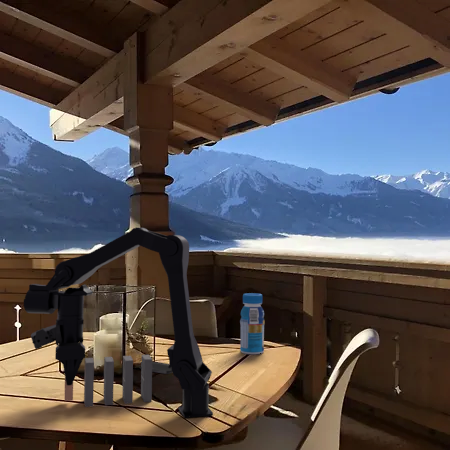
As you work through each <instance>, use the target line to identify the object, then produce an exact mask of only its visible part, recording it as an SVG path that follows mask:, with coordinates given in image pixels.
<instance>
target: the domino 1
mask: <svg viewBox="0 0 450 450" xmlns="http://www.w3.org/2000/svg"><path fill="white" fill-rule="evenodd" d="M68 401H69V402H71V401H74V382H73V383H72V385H67V383H66V378H65V377H64V402H68Z"/></svg>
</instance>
